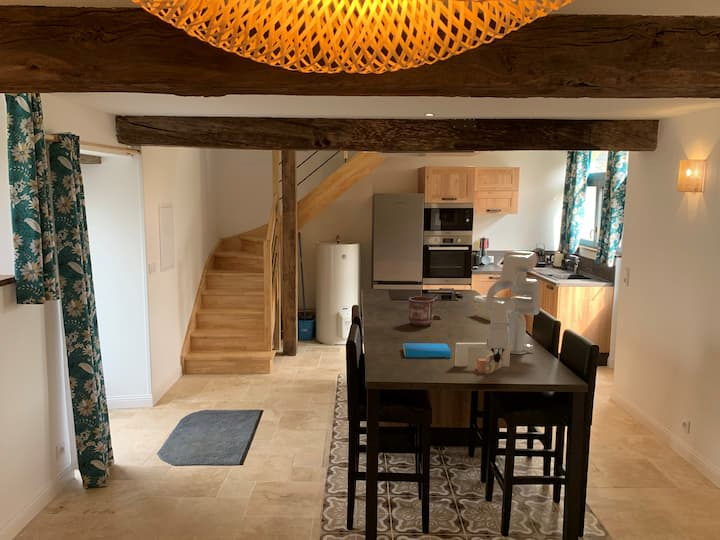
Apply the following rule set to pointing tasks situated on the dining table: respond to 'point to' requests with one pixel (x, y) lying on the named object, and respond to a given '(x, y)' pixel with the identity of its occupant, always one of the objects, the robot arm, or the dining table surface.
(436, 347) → the book
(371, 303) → the dining table surface
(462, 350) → the wall frame
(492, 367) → the beige wavy panel
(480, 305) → the storage basket
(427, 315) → the pottery
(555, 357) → the dining table surface
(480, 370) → the salmon pink cube
